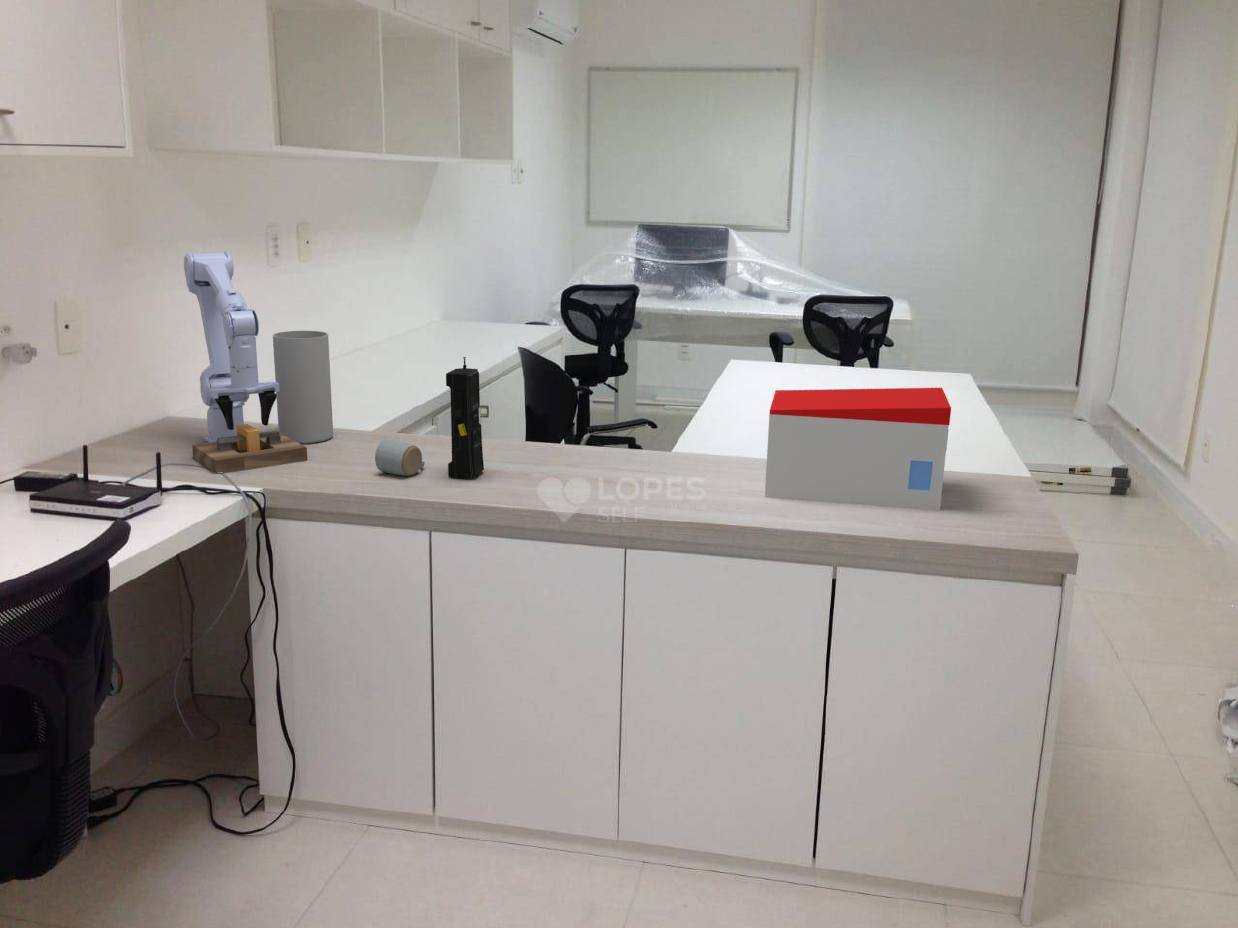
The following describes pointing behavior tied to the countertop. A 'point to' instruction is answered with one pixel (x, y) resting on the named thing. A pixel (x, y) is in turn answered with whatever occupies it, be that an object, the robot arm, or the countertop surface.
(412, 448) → the ceramic mug
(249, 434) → the orange c-shaped bracket
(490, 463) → the countertop surface
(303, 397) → the cylinder vase
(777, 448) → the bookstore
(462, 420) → the portable radio
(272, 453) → the hook board
